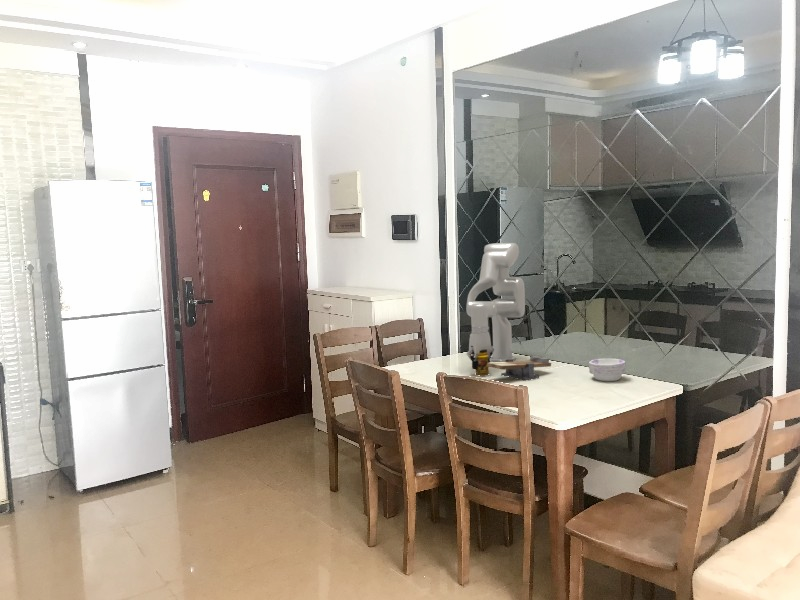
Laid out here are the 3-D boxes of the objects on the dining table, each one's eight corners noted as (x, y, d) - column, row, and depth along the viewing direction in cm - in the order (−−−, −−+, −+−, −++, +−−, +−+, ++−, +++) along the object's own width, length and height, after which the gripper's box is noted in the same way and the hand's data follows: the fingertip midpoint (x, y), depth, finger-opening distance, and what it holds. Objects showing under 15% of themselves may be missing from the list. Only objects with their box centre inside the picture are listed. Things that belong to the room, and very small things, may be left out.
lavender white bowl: (588, 375, 292) (588, 357, 291) (624, 375, 288) (624, 357, 287) (589, 382, 277) (589, 364, 277) (627, 383, 273) (627, 364, 273)
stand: (501, 375, 299) (500, 360, 299) (514, 372, 304) (513, 357, 303) (526, 380, 286) (525, 365, 285) (539, 378, 291) (538, 362, 290)
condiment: (480, 377, 298) (479, 351, 297) (469, 374, 305) (468, 348, 304) (493, 375, 301) (492, 349, 300) (482, 372, 309) (481, 347, 308)
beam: (486, 366, 290) (487, 358, 290) (535, 363, 307) (535, 355, 307) (502, 369, 282) (502, 361, 282) (551, 366, 299) (551, 358, 298)
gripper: (488, 327, 309) (489, 364, 311) (460, 331, 300) (461, 369, 301) (499, 328, 303) (500, 366, 305) (470, 333, 293) (472, 372, 295)
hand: (481, 367), depth 303 cm, fingers open, 6 cm apart
